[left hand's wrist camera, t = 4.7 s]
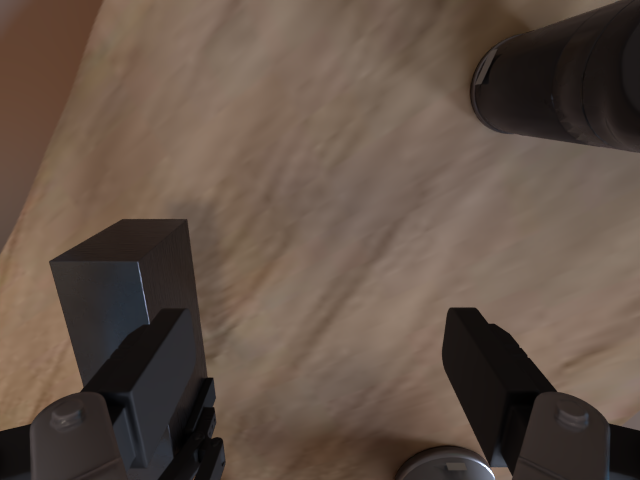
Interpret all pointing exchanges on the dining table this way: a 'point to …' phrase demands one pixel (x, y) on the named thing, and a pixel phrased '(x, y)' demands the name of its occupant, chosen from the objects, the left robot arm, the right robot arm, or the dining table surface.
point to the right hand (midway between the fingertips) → (179, 388)
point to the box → (131, 305)
